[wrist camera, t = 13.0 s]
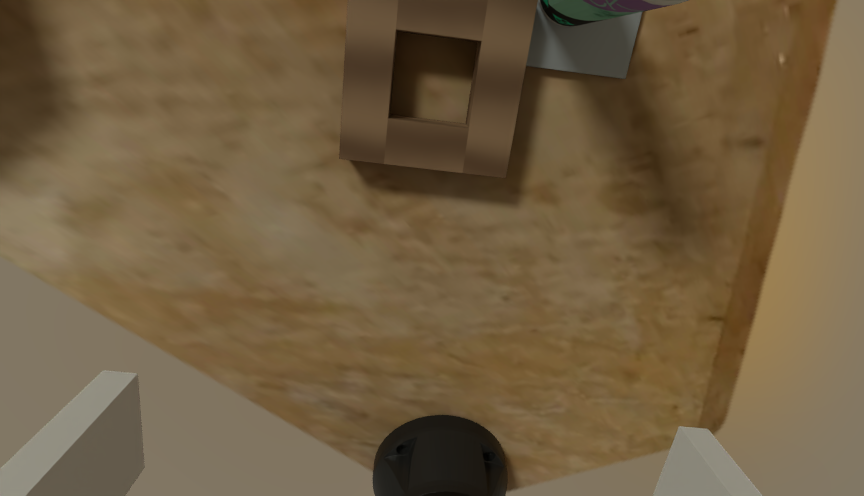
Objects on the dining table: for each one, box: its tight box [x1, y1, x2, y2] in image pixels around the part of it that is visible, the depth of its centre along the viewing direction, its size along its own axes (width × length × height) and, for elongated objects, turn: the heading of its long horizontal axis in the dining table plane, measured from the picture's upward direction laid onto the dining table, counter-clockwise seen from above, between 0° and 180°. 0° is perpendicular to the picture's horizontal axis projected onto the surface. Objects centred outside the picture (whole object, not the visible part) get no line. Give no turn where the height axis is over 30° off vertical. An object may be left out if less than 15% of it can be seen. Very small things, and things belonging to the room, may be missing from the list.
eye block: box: [339, 0, 538, 178], centre depth 39 cm, size 14×14×3 cm
